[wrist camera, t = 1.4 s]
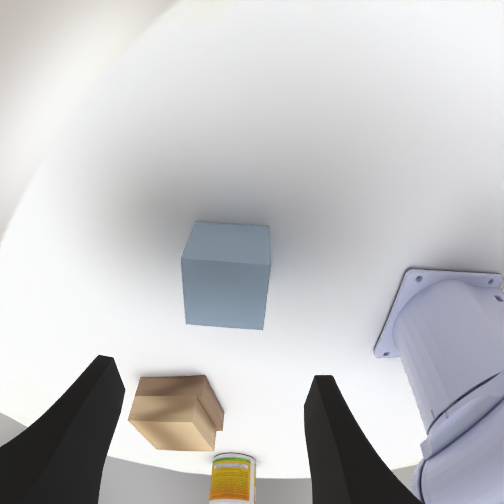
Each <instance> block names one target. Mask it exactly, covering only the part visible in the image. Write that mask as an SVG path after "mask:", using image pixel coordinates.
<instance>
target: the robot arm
mask: <svg viewBox="0 0 504 504" xmlns="http://www.w3.org/2000/svg"><path fill="white" fill-rule="evenodd" d="M418 276H420V277H419V278H418V279H416V278H417V277H418ZM502 282H503V277H502V276H501V275H500V274H488V273H470V272H452V271H434V270H416V269H412V270H409V271H408V272H407V273H406V274H405V276H404V279H403V281H402V284H401V287H400V289H399V292H398V295H397V297H396V300H395V302H394V305H393V307H392V310H391V312H390V315H389V317H388V320H387V322H386V325H385V327H384V329H383V332H382V334H381V336H380V338H379V341H378V343H377V345H376V347H375V350H374V356H375V357H376V358H390V357H400V359H401V361H402V364H403V367H404V369H405V372H406V375H407V377H408V380H409V383H410V386H411V388H412V391H413V394H414V397H415V400H416V403H417V405H418V408H419V411H420V414H421V417H422V420H423V423H424V427H425V430H426V433H427V435H428V437H427V438H426V440H425V441H424V442H422V443H421V444H420V446H421V450H422V453H423V457H424V458H423V459H422V460H421V461H420V462H419V464H418V465H417V467H416V469H415V472H414V475H413V479H412V493H411V492H410V491H409V490H408V489H407V488H406V487H405V486H404V485H403V484H402V483H401V482H400V481H399V480H398V478H397V477H396V476H395V475H394V474H393V473H392V472H391V470H390V469H389V468H388V467H387V466H386V464H385V463H384V462H383V461H382V459H381V458H380V457H379V455H378V454H377V453H376V451H375V450H374V448H373V447H372V445H371V444H370V442H369V441H368V439H367V438H366V436H365V435H364V433H363V432H362V430H361V428H360V427H359V425H358V423H357V422H356V420H355V418H354V417H353V415H352V413H351V411H350V409H349V407H348V406H347V404H346V402H345V400H344V398H343V396H342V394H341V392H340V390H339V388H338V386H337V384H336V382H335V379H334V377H333V376H332V375H315V376H314V379H313V382H312V385H311V388H310V390H309V393H308V396H307V399H306V402H305V404H304V427H305V437H306V444H307V451H308V458H309V465H310V472H311V479H312V494H313V495H312V496H313V504H504V293H503V292H502V291H501V290H500V289H499V288H500V286H501V284H502ZM124 394H125V388H124V385H123V382H122V380H121V377H120V374H119V372H118V369H117V366H116V364H115V361H114V358H113V357H108V356H102V355H98V356H97V357H96V358H95V359H94V360H93V362H92V363H91V364H90V365H89V366H88V367H87V368H86V370H85V371H84V372H83V373H82V374H81V375H80V376H79V378H78V379H77V380H76V381H75V382H74V383H73V384H72V385H71V386H70V387H69V389H68V390H67V391H66V392H65V393H64V394H63V395H62V396H61V397H60V398H59V399H58V400H57V401H56V402H55V403H54V404H53V405H52V406H51V407H50V408H49V409H48V410H47V411H46V412H45V413H44V414H43V415H42V416H41V417H40V418H39V419H38V420H36V421H35V422H34V423H33V424H32V425H31V426H29V427H28V428H27V429H26V430H24V431H23V432H22V433H20V434H19V435H18V436H16V437H15V438H14V439H12V440H11V441H10V442H8V443H6V444H4V445H3V446H1V447H0V504H98V498H99V490H100V483H101V477H102V471H103V466H104V463H105V459H106V456H107V452H108V449H109V446H110V443H111V440H112V437H113V434H114V431H115V428H116V425H117V422H118V419H119V416H120V413H121V408H122V404H123V399H124Z"/></svg>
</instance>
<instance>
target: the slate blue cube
mask: <svg viewBox="0 0 504 504" xmlns="http://www.w3.org/2000/svg"><path fill="white" fill-rule="evenodd" d="M181 266H182V281H183V295H184V307H185V319H186V324H192V325H203V326H214V327H227V328H241V329H256V330H263V325H264V317H265V309H266V301H267V292H268V284H269V275H270V267H271V260H270V241H269V226H260V225H245V224H230V223H214V222H197V221H196V223H195V226H194V228H193V230H192V233H191V235H190V238H189V240H188V243H187V245H186V247H185V250H184V252H183V255H182V257H181Z"/></svg>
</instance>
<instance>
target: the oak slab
mask: <svg viewBox="0 0 504 504" xmlns="http://www.w3.org/2000/svg"><path fill="white" fill-rule="evenodd" d="M128 421H129V422H130V423H131V424H132V425H133V426H134V427H135V428H136V429H137V430H138V431H139V432H140V433H141V434H142V435H143V436H144V437H145V438H146V439H147V440H148V441H149V442H150V443H151V444H152V445H153V446H154V447H155V448H156V449H158V450H175V451H214V448H215V438H216V426H215V425H214V423H213V422H212V420H211V418H210V417H209V415H208V414H207V412H206V410H205V409H204V407H203V405H202V404H201V402H200V401H199V399H198V397H197V396H196V395H193V396H135V398H134V401H133V404H132V408H131V411H130V414H129V418H128Z"/></svg>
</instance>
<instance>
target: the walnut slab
mask: <svg viewBox="0 0 504 504" xmlns="http://www.w3.org/2000/svg"><path fill="white" fill-rule="evenodd" d="M193 395H196V396H197V397H198V399H199V401H200V402H201V404H202V405H203V407H204V409H205V410H206V412H207V414H208V415H209V417H210V418H211V420H212V422H213V423H214V425H215V426H216V431H223V420H224V411H223V409H222V407H221V405H220V403H219V401H218V399H217V397H216V395H215V393H214V392H213V390H212V388H211V386H210V384H209V382H208V380H207V378H206V376H205V375H200V376H179V377H141V378H140V381H139V384H138V388H137V391H136V394H135V396H193Z"/></svg>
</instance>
